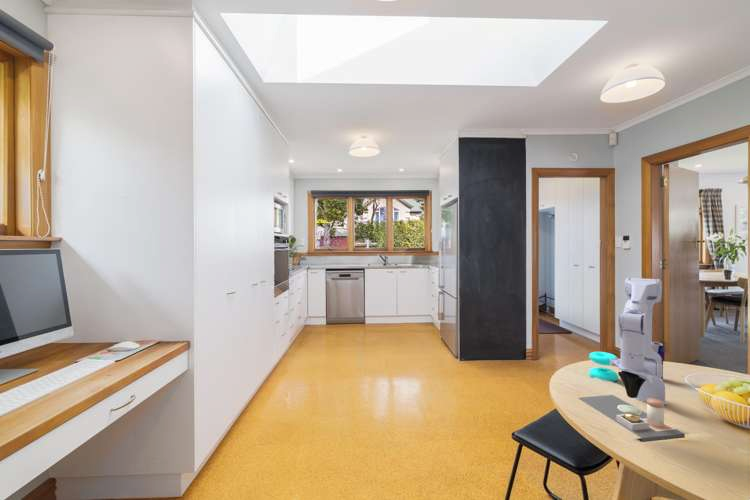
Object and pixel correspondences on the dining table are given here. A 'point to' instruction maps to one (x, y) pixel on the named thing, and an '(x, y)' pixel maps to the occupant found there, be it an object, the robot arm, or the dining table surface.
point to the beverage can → (658, 349)
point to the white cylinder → (655, 412)
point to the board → (616, 412)
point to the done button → (632, 417)
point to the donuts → (601, 372)
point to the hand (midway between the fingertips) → (632, 396)
